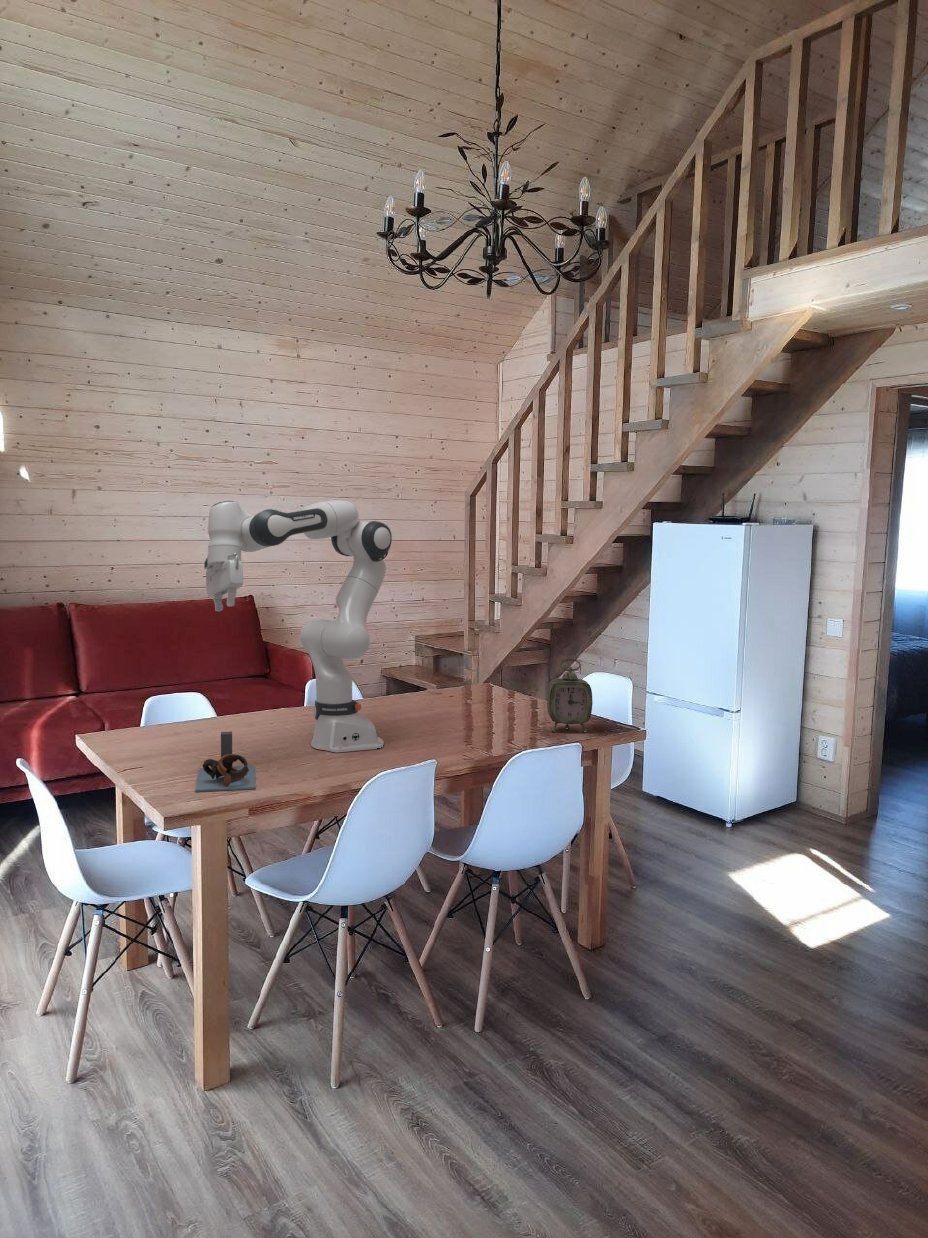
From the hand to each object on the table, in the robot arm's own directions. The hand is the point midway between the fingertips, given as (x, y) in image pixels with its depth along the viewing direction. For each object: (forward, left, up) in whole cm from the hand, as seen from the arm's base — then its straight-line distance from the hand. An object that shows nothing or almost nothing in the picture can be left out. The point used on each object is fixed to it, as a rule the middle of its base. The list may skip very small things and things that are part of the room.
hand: (224, 608), depth 246 cm
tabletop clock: (-112, -30, -46) cm, 125 cm away
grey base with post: (0, +9, -45) cm, 46 cm away
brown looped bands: (0, +13, -45) cm, 47 cm away
